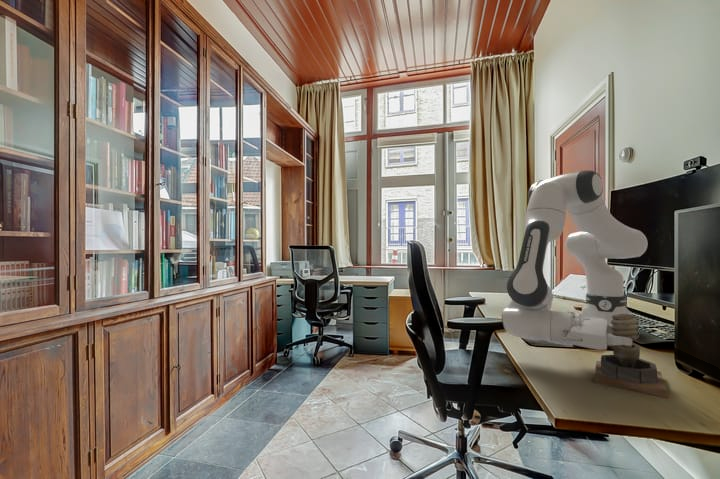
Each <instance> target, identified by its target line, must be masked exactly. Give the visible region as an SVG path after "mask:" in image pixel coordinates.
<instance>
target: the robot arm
mask: <svg viewBox="0 0 720 479" xmlns="http://www.w3.org/2000/svg"><path fill="white" fill-rule="evenodd" d="M603 190H604V184H603V180H602V177H601V175H600V174H599V173H598V172H596V171H594V170H588V169H587V170H580V171H578V172H569V173H563V174H559V175H557V176H553V177H549V178H546V179H542V180H539V181H536V182H534V183H533V184H531V186H529V189H528V192H527V197H528V204H527V207H526V213H525V217H524V218H525V219H524V233H523V234H524V235H523V239H522V243H521V248H520V252H519V258H518V262H517V265H516V267H515V269H514V270H513V272H512V273H511V274H510V275H509V278H508V280H507V283H506V291H507V295H508V296H509V298H511V300H510V301H509V303H508V304H507V306H505V307H504V308H503V309H502V312H501V321H502V326H503V328H504V330H505V331H506V333H508V334H509V335H511V336H513V337H516V338H521V339H525V340H532V341H546V342H548V343H550V344H556V345H557V344H558V345H563V346H570V347H573V346H577V347H581V348H587V349H591V350H597V351H606V350H607V349H608V345H609V346H613V345H628V346H631V345H632V338H631V337H626V336H622V337H621V336H614V335H613V334H612V332H613V330H612V328H611V326H612V323H611V320H613V318H612V316H613V315H619V314H629V315H632V311H630V310H629V309H628V308H627V307H626V305H627V299H626V296H625V290H624V285H625V284H624V276H623V275H622V273H621V272H620V271H618V269H615V268H613V267H611V266H610V265H608V263H607V262H606V259H621V260H623V259H632V258H640V257H641V256H642V255H643V254H645V253H646V251H647V249H648V239H647V237H646V235H645V234H644V233H643V231H641V230H639V229H635V228H632V227H630V226H627V225H625V224H624V223H623V222H620V221H619V220H617V219H616V218H615V216H613V215H612V213H611V212H610V211H609V209H608V207H607V206H606V203H605V202H604V199H603V197H602V194H603ZM567 212H568V214H569V216H570V219H571V220H572V222H573V225H574V226H575V227H576V228H577V229H579V231H576V232H575V231H574V232H571V233H570V234H569V235H568V236H567V238H566V240H565V248H566V251H567V253H569V254H570V255H571V256H572V257H574V258H575V259H576V261H578V262H579V263H580V266H582V268H583V270H584V273H585V279H586V289H587V290H586V291H587V292H586V294H585V301H586V304H585V305H584V306H583V307H581V314H576V312H574V311H557V310H551V308H552V304H553V299H554V294H553V291H552V289H551V287H550V286H549V285H548V283H547V280H546V278H545V275H544V265H545V259H546V253H547V249H548V246H549V243H551V242H553V241H556V240H557V239H559V238H560V237H561V236H562V233H563V230H564V227H565V223H566V219H567V218H566V217H567Z"/></svg>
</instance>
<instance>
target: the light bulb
mask: <svg viewBox="0 0 720 479" xmlns="http://www.w3.org/2000/svg"><path fill="white" fill-rule="evenodd" d="M612 318H613V320H611V323H612V326H611V328H612V330H613V332H612V334H613V335H614V336H621V337H622V336H626V337H631V338H632V345H631V346H628V345H612V355H614V356H615V357H616V358H617V360H618V361H619V365H620V366H622V367H628V368H634V363H635V362H636V361H637V360H638V359H639V358H640V354H641V351H640V349H641V348H640V346H638V345H636V344H633V342H634V341H636V340H638V339H639V338H640V336H639V335H640V334H639V335H638V332H639V333H640V329H639V326H640V324H639V322H638V321H639V318H638V317H636V316H635V315H633V314H631V315H629V314H619V315H613V316H612Z"/></svg>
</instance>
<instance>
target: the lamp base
mask: <svg viewBox="0 0 720 479" xmlns="http://www.w3.org/2000/svg"><path fill="white" fill-rule="evenodd" d="M600 356H601V357H600V360H599V361H598V360H596V363H595V371H594V384H599V385H602V386H603V385H605V386H608V387H613V388H618V389H623V390H627V391H628V390H629V391H634V392H639V393H642V394H648V395H652V396H657V397H661V398H667V399H668V394H669V393H668V389H667V386H666V383H665V381H664V380H665V379H664V377H663V374H662V371H659V370H658V369H657V365H656V363H653V362H651V361H648V360H645V359H642V358H640V357H639V359H638V360H637V361H636V362H635V363H634V368H628V367H622V366H620V365H619V361H618V360H617V358H616V357H615V356H614V354H603V355H602V354H601V355H600Z"/></svg>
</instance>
